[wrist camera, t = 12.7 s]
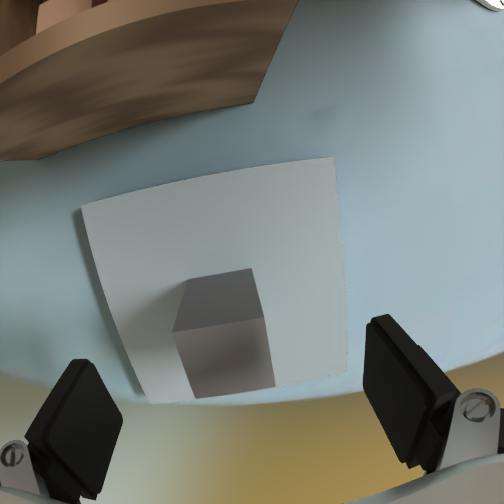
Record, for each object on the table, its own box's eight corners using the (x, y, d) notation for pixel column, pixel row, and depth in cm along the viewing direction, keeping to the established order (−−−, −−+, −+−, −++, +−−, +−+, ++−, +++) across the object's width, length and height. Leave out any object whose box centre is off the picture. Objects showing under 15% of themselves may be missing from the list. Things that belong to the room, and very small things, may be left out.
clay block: (112, 5, 14) (93, -21, 10) (113, 47, 15) (91, 25, 11) (64, 25, 13) (39, 5, 10) (63, 67, 15) (34, 51, 11)
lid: (322, 157, 19) (385, 152, 11) (338, 356, 24) (378, 427, 15) (94, 201, 19) (21, 224, 10) (154, 386, 23) (134, 464, 15)
